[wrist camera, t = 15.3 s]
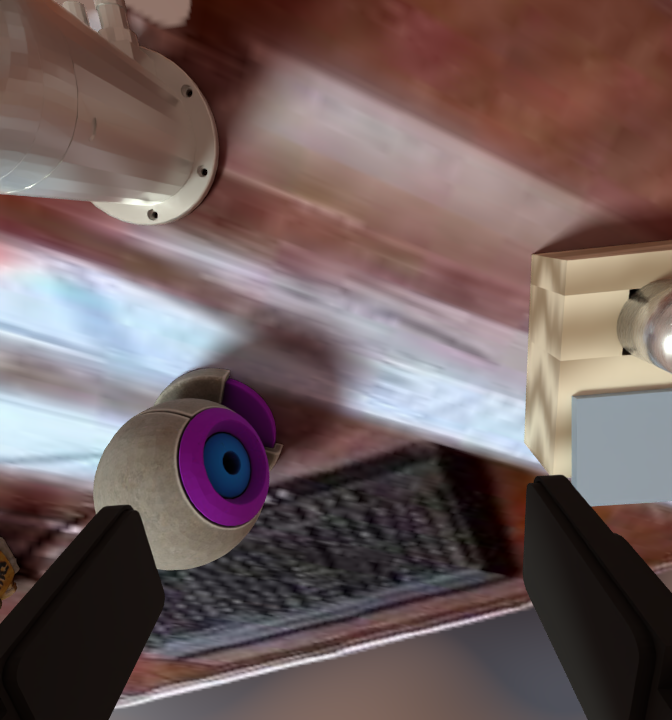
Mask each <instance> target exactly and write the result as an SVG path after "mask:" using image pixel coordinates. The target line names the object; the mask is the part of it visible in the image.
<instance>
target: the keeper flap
mask: <svg viewBox="0 0 672 720" xmlns="http://www.w3.org/2000/svg"><path fill="white" fill-rule="evenodd" d="M572 485H573V486H574V487H575V488H576V490H577V491H578V492H579V493H580V494H581V495H582V497H583V498H584V499H585V500H586V501H587V503H588V504H589V505H590V506H603V505H619V504H635V503H650V502H666V501H672V388H666V389H654V390H642V391H629V392H617V393H605V394H592V395H580V396H572Z"/></svg>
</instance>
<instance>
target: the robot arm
mask: <svg viewBox="0 0 672 720" xmlns="http://www.w3.org/2000/svg"><path fill="white" fill-rule="evenodd" d="M94 4H95V8H96V10H97V11H98V14H99V19H100V23H101V27H102V29H101V30H99V31H98V33H97V32H96V31H95V30H93V29H92V28H91V27H90V24H89V19H88V15H87V11H86V7H85V6H84V4H81V3H80V2H76V1H66V2H63V7H62V6H61V5H60V4H58V3H57V2H55V1H54V0H0V194H8V195H20V196H32V197H44V198H57V199H69V200H81V201H91V202H92V203H93V204H94V205H95V206H96V207H98V208H99V209H101V210H102V211H104V212H105V213H107V214H108V215H110V216H112V217H114V218H117V219H119V220H121V221H123V222H128V223H132V224H136V225H163V224H167V223H170V222H174V221H177V220H179V219H181V218H183V217H184V216H186V215H188V214H189V213H190V212H192V211H193V210H194V209H195V208H196V207H197V206H199V204H200V203H201V202H202V201H203V199H204V198H205V197H206V195H207V194H208V192H209V190H210V188H211V186H212V184H213V181H214V178H215V175H216V171H217V167H218V158H219V141H218V132H217V128H216V124H215V120H214V116H213V114H212V111H211V109H210V107H209V105H208V102H207V100H206V98H205V97H204V95H203V94H202V92H201V91H200V89H199V88H198V86H197V85H196V83H195V82H194V81H193V80H192V79H191V78H190V77H189V76H188V75H187V74H186V73H185V72H184V71H183V70H182V69H181V68H180V67H179V66H177V65H176V64H175V63H174V62H173V61H171V60H170V59H168V58H166V57H165V56H163V55H161V54H160V53H158V52H156V51H153V50H150V49H148V48H145V47H142V46H139V44H138V40H137V36H136V34H135V33H134V32H132V31H131V30H129V26H128V21H127V17H126V6H125V1H124V0H94ZM190 91H192V96H191V97H189V96H188V93H189V92H190ZM205 169H207V171H208V172H207V175H206V176H205V175H204V174H203V171H204V170H205ZM156 212H157V214H158V218H156V217H155V213H156ZM523 579H524V584H525V587H526V590H527V593H528V595H529V597H530V599H531V601H532V603H533V605H534V607H535V610H536V612H537V614H538V616H539V618H540V620H541V622H542V624H543V626H544V629H545V631H546V632H547V635H548V637H549V639H550V641H551V643H552V645H553V647H554V650H555V652H556V654H557V656H558V658H559V660H560V662H561V664H562V666H563V668H564V671H565V673H566V674H567V677H568V679H569V681H570V683H571V685H572V687H573V690H574V691H575V694H576V696H577V698H578V700H579V702H580V704H581V706H582V708H583V711H584V713H585V715H586V717H587V719H588V720H672V593H671V592H670V590H669V589H668V588H667V587H666V586H665V585H664V584H663V582H662V581H661V580H660V579H659V578H658V577H657V575H656V574H655V573H654V572H653V571H652V570H651V568H650V567H649V566H648V565H647V564H646V563H645V562H644V560H643V559H642V558H641V557H640V556H639V555H638V553H637V552H636V551H635V550H634V549H633V548H632V546H631V545H630V544H629V543H628V542H627V541H626V540H625V539H624V538H623V537H622V536H620V535H618V534H616V533H613V532H612V531H611V530H610V529H609V528H608V526H607V525H606V524H605V523H604V522H603V520H602V519H601V518H600V517H599V516H598V514H597V513H596V512H595V511H594V510H593V509H592V507H591V506H590V505H589V504H588V503H587V501H586V500H585V499H584V498H583V497H582V495H581V494H580V493H579V492H578V491H577V490H576V488H575V487H574V486H573V485H572V484H571V482H570V481H569V480H568V479H567V478H566V477H565V476H564V475H548V476H537V477H535V479H534V483H529V484H528V485H527V492H526V514H525V537H524V559H523ZM164 600H165V594H164V590H163V587H162V584H161V580H160V577H159V574H158V571H157V567H156V564H155V561H154V558H153V555H152V551H151V548H150V545H149V542H148V538H147V535H146V532H145V529H144V525H143V522H142V519H141V516H140V513H139V512H138V511H137V510H134V509H133V507H132V506H131V505H113V506H105V507H103V508H102V509H101V510H100V511H99V512H98V513H97V514H96V515H95V516H94V517H93V519H92V520H91V521H90V522H89V523H88V524H87V525H86V527H85V528H84V529H83V530H82V531H81V532H80V533H79V535H78V536H77V537H76V538H75V539H74V540H73V541H72V543H71V544H70V545H69V546H68V547H67V548H66V549H65V551H64V552H63V553H62V554H61V555H60V556H59V557H58V559H57V560H56V561H55V562H54V563H53V564H52V565H51V567H50V568H49V569H48V570H47V571H46V572H45V573H44V575H43V576H42V577H41V578H40V579H39V580H38V581H37V583H36V584H35V585H34V586H33V587H32V588H31V589H30V591H29V592H28V593H27V594H26V595H25V596H24V597H23V599H22V600H21V601H20V602H19V603H18V604H17V605H16V607H15V608H14V609H13V610H12V611H11V612H10V613H9V614H8V616H7V617H6V618H5V619H4V620H3V621H2V622H1V624H0V720H109V718H110V716H111V714H112V712H113V710H114V708H115V706H116V703H117V701H118V699H119V697H120V695H121V693H122V691H123V689H124V687H125V685H126V683H127V681H128V679H129V677H130V675H131V673H132V671H133V669H134V667H135V665H136V663H137V661H138V658H139V656H140V654H141V652H142V650H143V648H144V646H145V644H146V642H147V640H148V638H149V636H150V634H151V632H152V630H153V628H154V626H155V624H156V622H157V620H158V618H159V616H160V613H161V611H162V609H163V606H164Z"/></svg>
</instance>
